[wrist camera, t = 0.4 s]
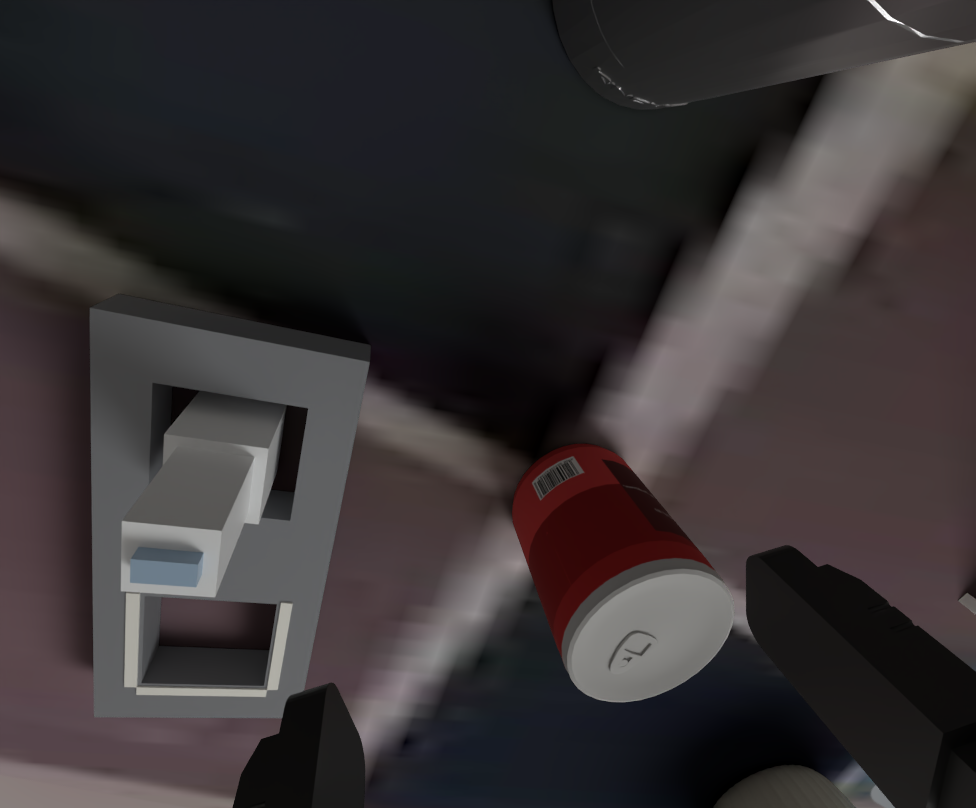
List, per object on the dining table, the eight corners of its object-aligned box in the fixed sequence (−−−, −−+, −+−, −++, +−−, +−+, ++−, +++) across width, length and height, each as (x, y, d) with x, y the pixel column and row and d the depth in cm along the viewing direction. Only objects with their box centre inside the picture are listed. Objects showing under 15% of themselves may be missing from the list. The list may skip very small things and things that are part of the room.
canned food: (492, 538, 32) (540, 702, 22) (534, 427, 29) (610, 558, 19) (599, 553, 34) (686, 707, 24) (648, 450, 31) (768, 579, 22)
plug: (200, 390, 25) (94, 518, 16) (286, 404, 26) (234, 531, 17) (195, 460, 26) (95, 614, 17) (277, 470, 27) (224, 621, 18)
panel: (118, 293, 23) (88, 308, 20) (371, 345, 26) (369, 362, 23) (114, 677, 31) (93, 718, 29) (303, 682, 34) (298, 719, 32)
